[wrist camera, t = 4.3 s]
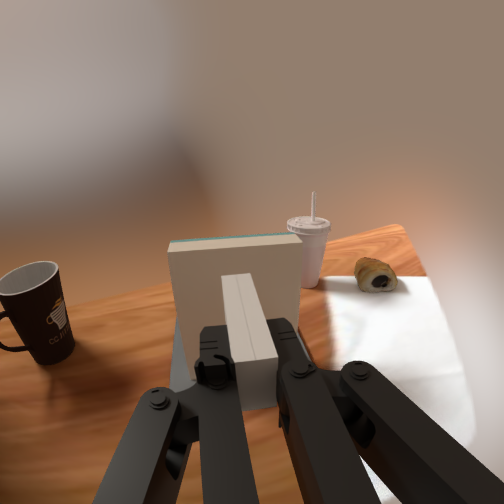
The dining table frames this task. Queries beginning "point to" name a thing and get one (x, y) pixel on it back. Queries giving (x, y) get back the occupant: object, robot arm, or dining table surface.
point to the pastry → (374, 275)
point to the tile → (231, 263)
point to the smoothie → (311, 243)
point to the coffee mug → (37, 311)
